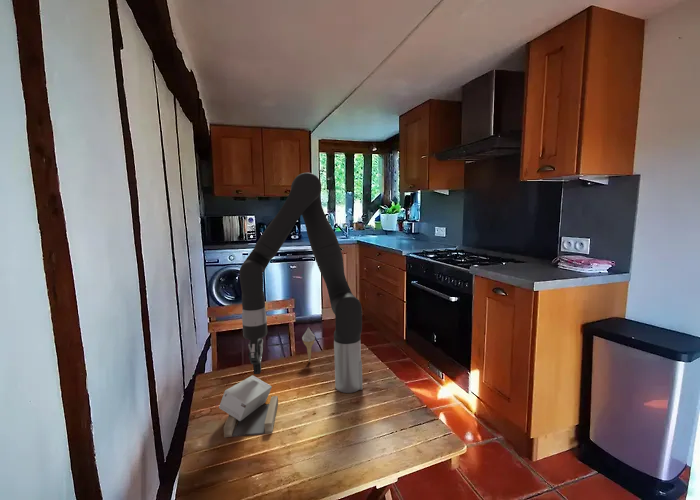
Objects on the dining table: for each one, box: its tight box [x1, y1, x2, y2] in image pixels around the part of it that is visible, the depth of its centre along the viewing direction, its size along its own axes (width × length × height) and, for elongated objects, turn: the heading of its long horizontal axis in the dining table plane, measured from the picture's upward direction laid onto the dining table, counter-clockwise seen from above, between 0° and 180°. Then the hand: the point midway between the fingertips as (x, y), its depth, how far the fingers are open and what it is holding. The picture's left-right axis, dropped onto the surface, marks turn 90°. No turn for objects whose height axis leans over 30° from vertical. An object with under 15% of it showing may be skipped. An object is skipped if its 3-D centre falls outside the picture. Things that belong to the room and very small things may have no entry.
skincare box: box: [218, 374, 273, 421], centre depth 102 cm, size 8×6×15 cm
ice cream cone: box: [301, 326, 316, 363], centre depth 136 cm, size 6×6×15 cm
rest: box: [223, 395, 279, 438], centre depth 98 cm, size 13×14×3 cm
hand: (257, 372), depth 108 cm, fingers closed
